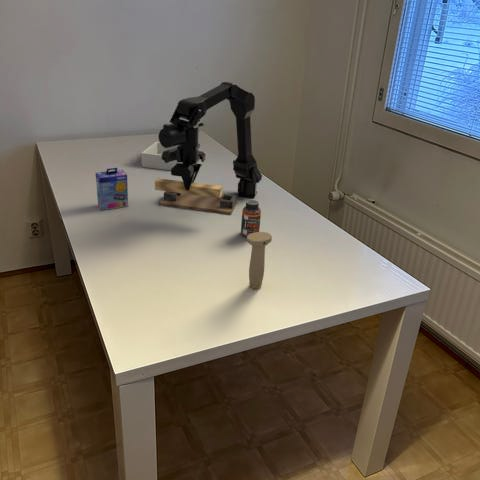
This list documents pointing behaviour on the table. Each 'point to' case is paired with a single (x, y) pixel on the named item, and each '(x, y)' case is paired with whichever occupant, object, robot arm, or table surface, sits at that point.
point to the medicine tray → (157, 157)
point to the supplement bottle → (250, 218)
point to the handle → (257, 257)
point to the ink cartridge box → (112, 189)
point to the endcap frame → (200, 202)
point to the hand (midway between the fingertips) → (188, 188)
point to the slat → (194, 189)
